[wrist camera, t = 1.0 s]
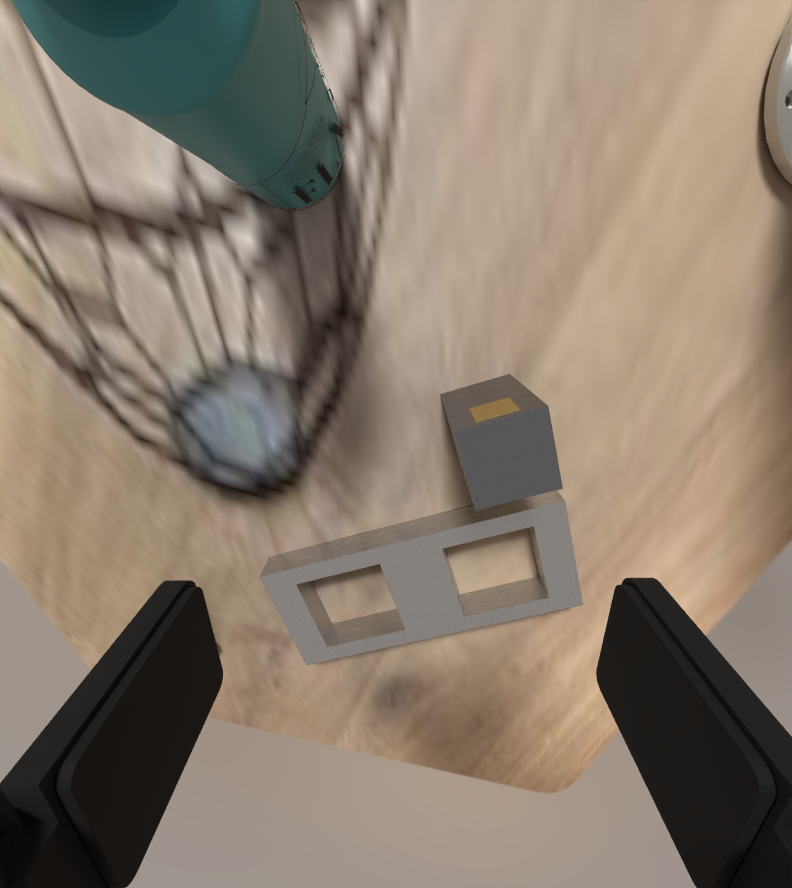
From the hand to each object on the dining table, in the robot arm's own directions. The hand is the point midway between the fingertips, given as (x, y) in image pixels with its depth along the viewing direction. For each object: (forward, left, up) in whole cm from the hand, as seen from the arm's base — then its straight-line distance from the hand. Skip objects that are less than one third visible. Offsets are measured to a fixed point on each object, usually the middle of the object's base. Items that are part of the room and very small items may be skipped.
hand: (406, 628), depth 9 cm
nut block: (-5, +3, -21) cm, 22 cm away
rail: (+3, +15, -21) cm, 26 cm away
